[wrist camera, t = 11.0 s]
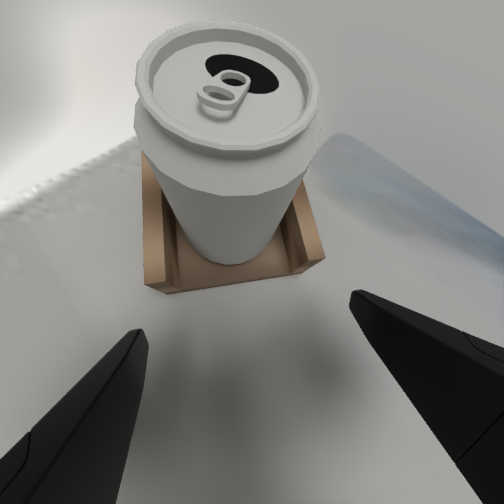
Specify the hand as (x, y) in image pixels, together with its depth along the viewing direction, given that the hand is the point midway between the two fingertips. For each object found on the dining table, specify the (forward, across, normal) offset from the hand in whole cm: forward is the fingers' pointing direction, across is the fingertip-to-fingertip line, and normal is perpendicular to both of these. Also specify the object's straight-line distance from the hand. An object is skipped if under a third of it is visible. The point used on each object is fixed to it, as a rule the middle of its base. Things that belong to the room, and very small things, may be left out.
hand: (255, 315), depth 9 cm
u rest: (+12, 0, 0) cm, 12 cm away
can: (+11, 0, 0) cm, 11 cm away
